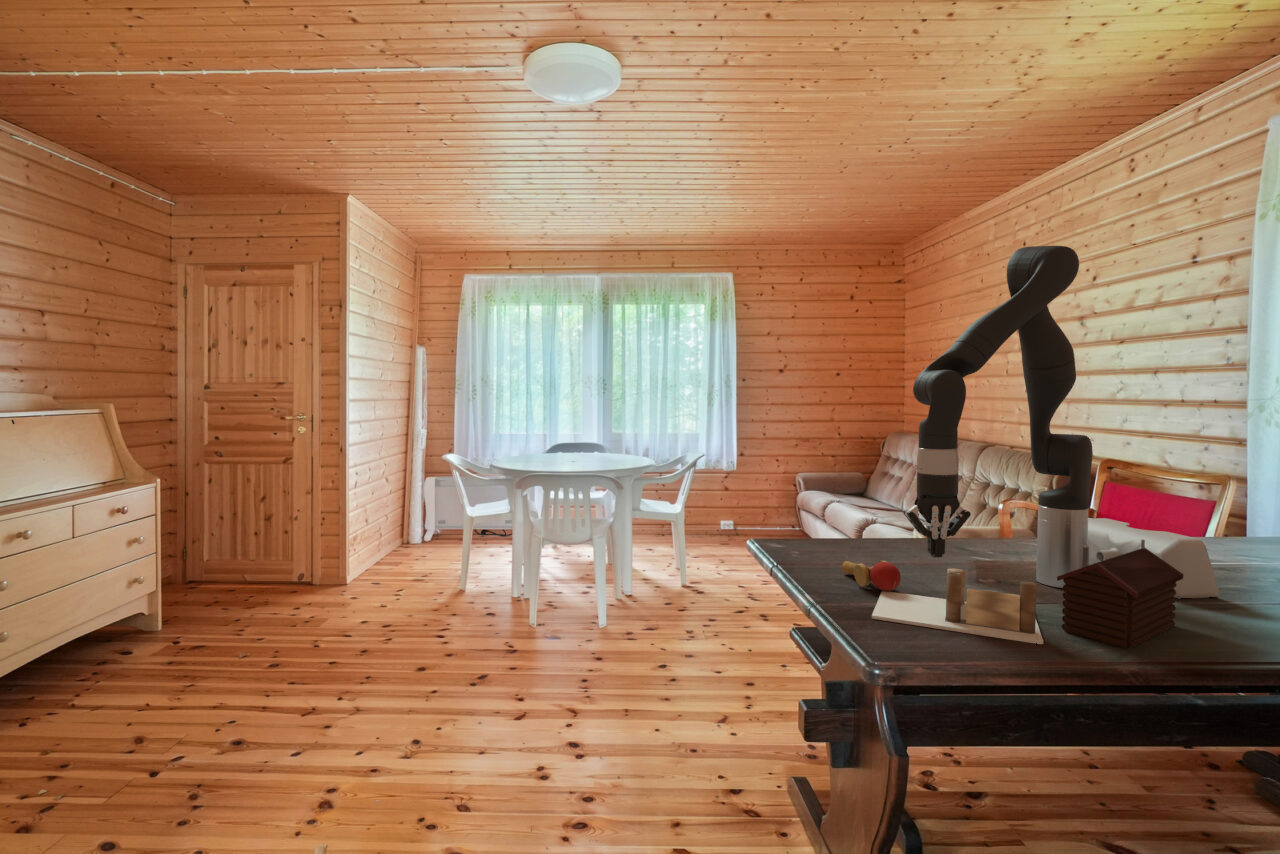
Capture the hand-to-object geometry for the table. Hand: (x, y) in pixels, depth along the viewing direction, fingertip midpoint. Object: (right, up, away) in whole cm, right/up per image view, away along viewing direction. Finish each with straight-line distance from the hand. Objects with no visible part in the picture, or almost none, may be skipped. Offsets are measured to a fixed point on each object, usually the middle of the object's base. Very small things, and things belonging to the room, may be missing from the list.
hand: (936, 556), depth 125 cm
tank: (+51, -9, +15) cm, 54 cm away
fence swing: (+1, -9, -5) cm, 10 cm away
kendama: (-9, -9, +12) cm, 18 cm away
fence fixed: (+3, -10, -14) cm, 18 cm away
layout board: (0, -10, -8) cm, 12 cm away
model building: (+26, -10, -14) cm, 31 cm away
